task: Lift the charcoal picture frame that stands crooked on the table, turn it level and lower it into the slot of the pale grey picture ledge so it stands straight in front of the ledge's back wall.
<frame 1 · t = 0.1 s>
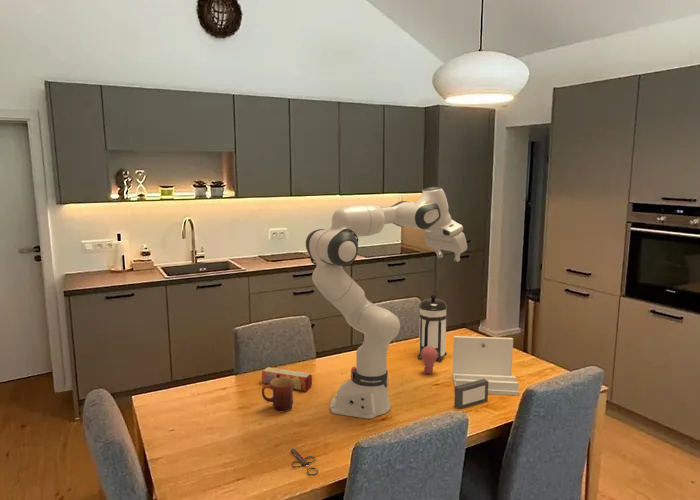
hand: (448, 259, 201), 52 cm above the table, tool tilted 20°, fingers open, 8 cm apart
coffee press: (432, 358, 238), on the table
picture frame: (471, 403, 192), on the table
picture ledge: (484, 385, 208), on the table
light bulb: (428, 373, 221), on the table
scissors: (301, 462, 156), on the table
snack package: (286, 386, 209), on the table
mug: (278, 409, 189), on the table
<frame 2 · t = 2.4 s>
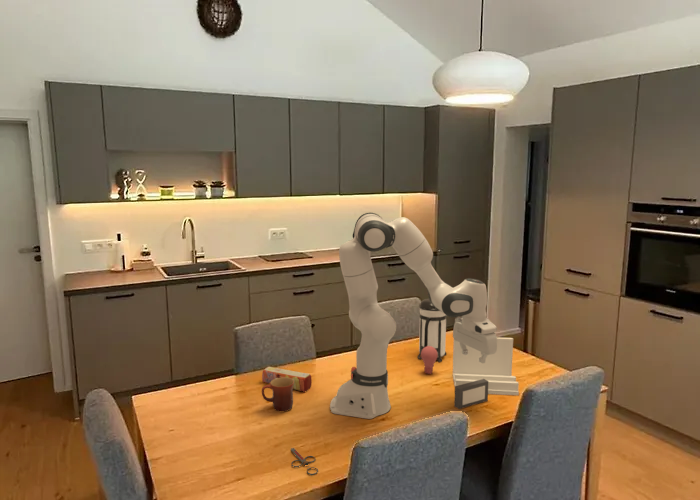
hand: (473, 358, 189), 18 cm above the table, tool pointing down, fingers open, 8 cm apart
nothing on the table moved.
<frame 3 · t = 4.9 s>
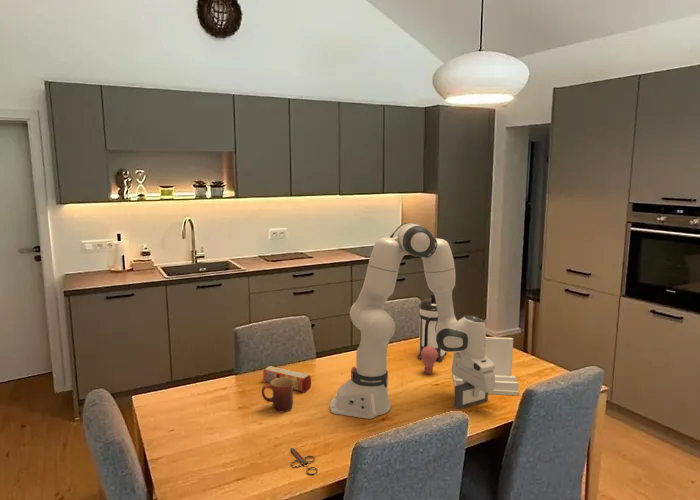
hand: (471, 394, 192), 4 cm above the table, tool pointing down, fingers closed on picture frame, 3 cm apart
picture frame: (471, 403, 192), on the table, touching gripper
everything else where it was.
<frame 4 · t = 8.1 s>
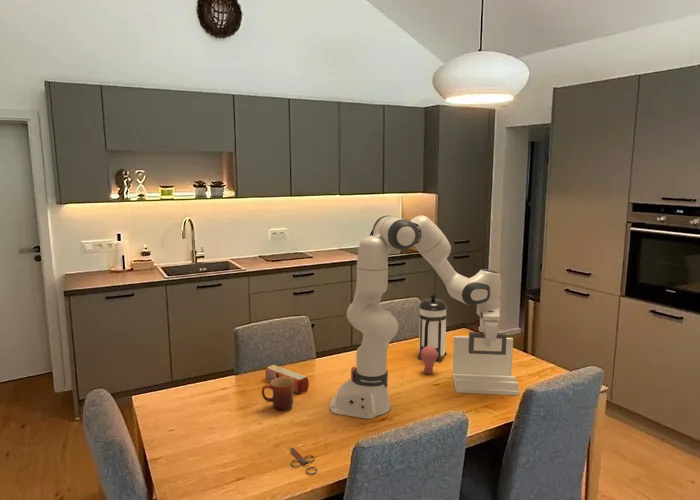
hand: (487, 344, 202), 19 cm above the table, tool pointing down, fingers closed on picture frame, 3 cm apart
picture frame: (486, 353, 202), point 15 cm above the table, touching gripper
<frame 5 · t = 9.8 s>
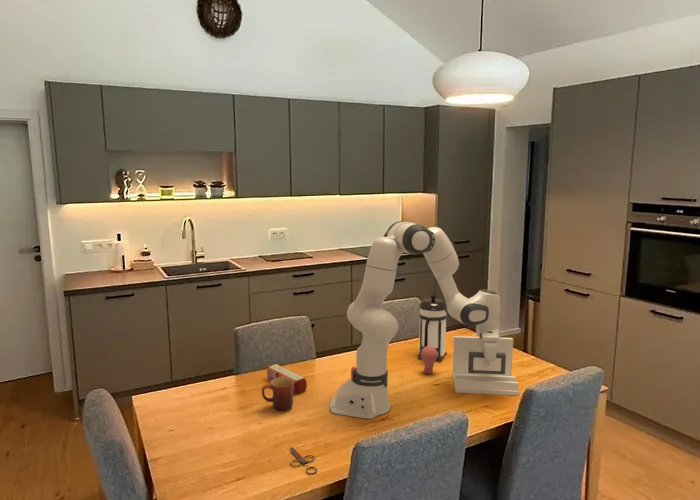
hand: (486, 363, 203), 11 cm above the table, tool pointing down, fingers closed on picture frame, 3 cm apart
picture frame: (486, 372, 204), point 7 cm above the table, touching gripper
when the fingers open (7 cm above the table, at t = 11.5 s): picture frame drops 1 cm, resting on picture ledge.
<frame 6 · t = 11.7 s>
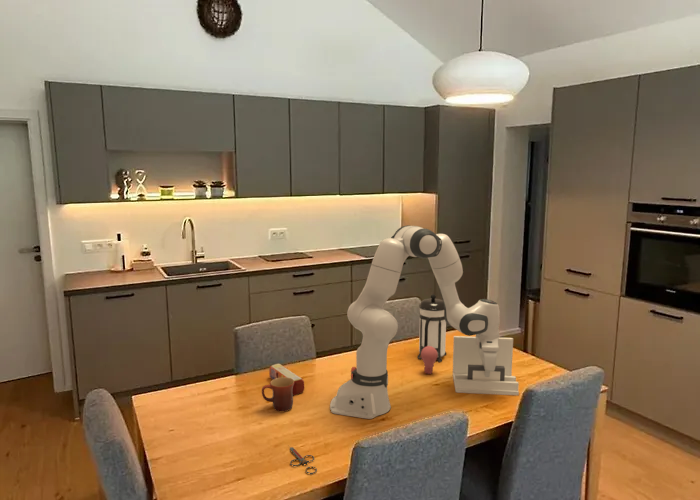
hand: (485, 373, 204), 7 cm above the table, tool pointing down, fingers open, 5 cm apart
picture frame: (485, 385, 204), point 2 cm above the table, touching picture ledge
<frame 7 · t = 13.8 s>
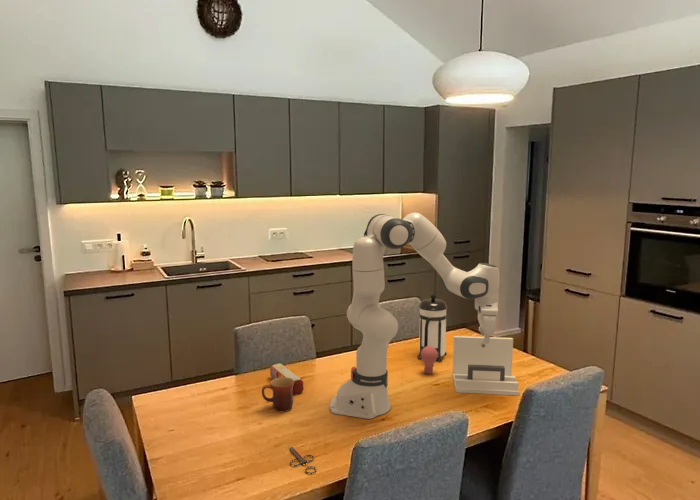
hand: (484, 338, 200), 21 cm above the table, tool pointing down, fingers open, 8 cm apart
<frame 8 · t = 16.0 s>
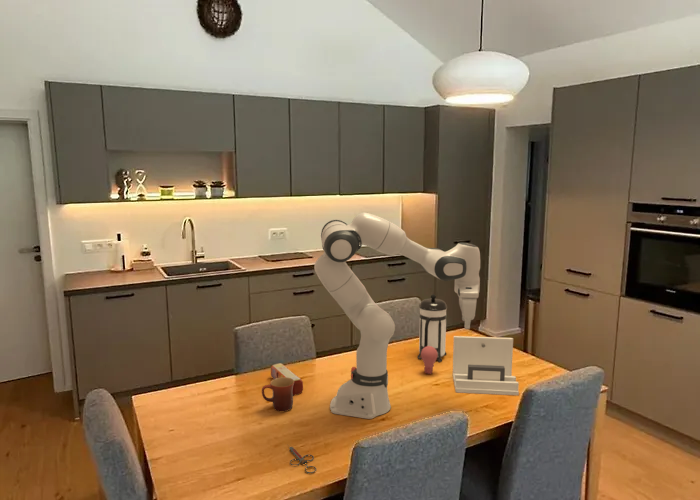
hand: (465, 324, 187), 31 cm above the table, tool pointing down, fingers open, 8 cm apart
at the end: picture frame inside the target area on the picture ledge (0.0 cm from its centre), point 1.5 cm above the picture ledge's base; picture frame tilted 0°; the gripper is holding nothing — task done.
